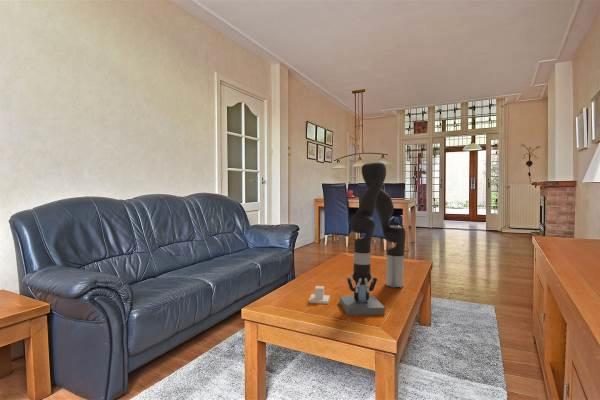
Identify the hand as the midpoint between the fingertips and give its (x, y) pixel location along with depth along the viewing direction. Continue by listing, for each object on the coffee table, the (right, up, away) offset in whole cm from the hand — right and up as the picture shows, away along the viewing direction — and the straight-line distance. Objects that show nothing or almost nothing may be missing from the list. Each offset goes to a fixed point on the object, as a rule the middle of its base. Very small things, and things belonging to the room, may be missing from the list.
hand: (361, 300), depth 148 cm
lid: (-18, -4, +10) cm, 21 cm away
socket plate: (0, -4, 0) cm, 4 cm away
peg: (0, -2, 0) cm, 2 cm away
